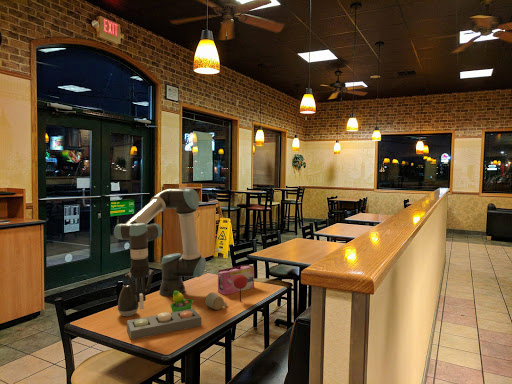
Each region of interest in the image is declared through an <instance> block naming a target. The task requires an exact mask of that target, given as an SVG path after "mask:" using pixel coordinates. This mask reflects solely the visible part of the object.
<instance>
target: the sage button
mask: <svg viewBox="0 0 512 384" xmlns="http://www.w3.org/2000/svg"><path fill="white" fill-rule="evenodd" d="M138 319H139V318H138ZM134 323H135V327H141V326H146V325H148V320H147V319H139V320H136V321H135V322H134Z"/></svg>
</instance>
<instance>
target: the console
mask: <svg viewBox="0 0 512 384" xmlns="http://www.w3.org/2000/svg"><path fill="white" fill-rule="evenodd" d="M183 311H191V312H192V313H193V317H188V318H182V319H181V318H180V313H181V312H183ZM183 311H177V312H170V313H171V320H170V321H167V322H158V314H156V315H150V316H145V317H144V316H143V317H140V318H135V319H129V320H126V330H127V334H128V335H129V338H130V340H131V341H133V340H132V339H134V340H138V339H137V338H139V339H143V338H142V337H144V338H147V337H148V338H149V337H153V336H157V335H162V334H163V335H164V334H166V333H168V334H169V333H172V332H177V331H181V330H186V329H191V328H197V327H201V326H202V316H201V315H200V314H199V313H198V312H197V311H196V309H194V308H191V309H188V310H183ZM139 319H147V320H148V325H146V326H141V327H135V323H134V322H135V321H136V320H139Z"/></svg>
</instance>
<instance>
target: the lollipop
mask: <svg viewBox="0 0 512 384" xmlns="http://www.w3.org/2000/svg"><path fill="white" fill-rule="evenodd" d="M233 283H234V286H235V287H236V288H238V289H240V291H239V302H242V299H241V298H242V295H241V294H242V291H241V289H243V288H244V287H246V285H247V279H246V277H245V276H244V275H237V276H236V277H235V278H234V281H233Z"/></svg>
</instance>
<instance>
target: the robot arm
mask: <svg viewBox="0 0 512 384" xmlns="http://www.w3.org/2000/svg"><path fill="white" fill-rule="evenodd" d="M199 206H200V197H199V194H198V192H197V190H195V189H193V188H186V187H183V188H167V189H164V190H162V191H160V192H158V193H156V194H155V195H154V196H152V197H151V199H150V200H149V202H148V203H147V204H146V205H145V206H144V207H143V208H141V209H140V210H139V211H138V212H137V213H135V214H134V215H133V216H132V217H131V218H130V219H129V220H127V221H126V222H125V223H117V224H116V225H115V227H114V229H113V234H114V238H116V239H117V240H124V241H125V240H128V241H129V244H130V248H129V249H130V251H129V252H130V268H129V269H130V270H129V272H128V273H125V277H126V279H127V281H128V284H129V286H130V287H131V291H132V293H133V295H136V298H137V302H138V304H139V307H138V309H139V310H140V311H141V310H144V308H145V307H144V302H145V301H146V299H147V297H146V295H147V293H150V292H151V291H150V290H151V286H152V282H153V281H152V280H153V277H154V275H155V271H154V270H152V269H150V267H149V257H148V256H149V249H148V244H149V243H148V242H151V241H154V240H157V239H158V238H160V237H161V236H162V234H163V228H162V227H161V226H160V224H158V223H150V221H152V219H154V218H155V217H156V216H157V215H158V214H159V213H161V212H164V211H165V210H169V209H172V210H175V213H176V214H177V215H178V216H179V217H178V218H179V225H180V235H181V242H182V251H183V252H182V254H181V253H178V252H177V253H170V254H167V255H164V256H163V257H162V258H161V278H162V279H161V284H160V286H159V294H160V295H161V296H164V297H165V296H166V297H170V296H171V297H173V293H174V291H179V292H180V293H181V294H182V295H183V294H184V293H185V292H186V287H185V283H184V281H183V278H182V277H187V278H188V277H190V278H200V277H202V276H203V274H204V272H205V270H206V263H207V262H206V258H205V257H203V256H202V253H201V251H199V248H198V238H197V228H196V219H195V213H196V212H197V209H199ZM148 223H150V224H148ZM147 275H148V278H147V282H146V276H147ZM132 276H133V277H134V279H135V287H134V284H133V280H132ZM140 280H141V287H140ZM140 288H141V293H140Z"/></svg>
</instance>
